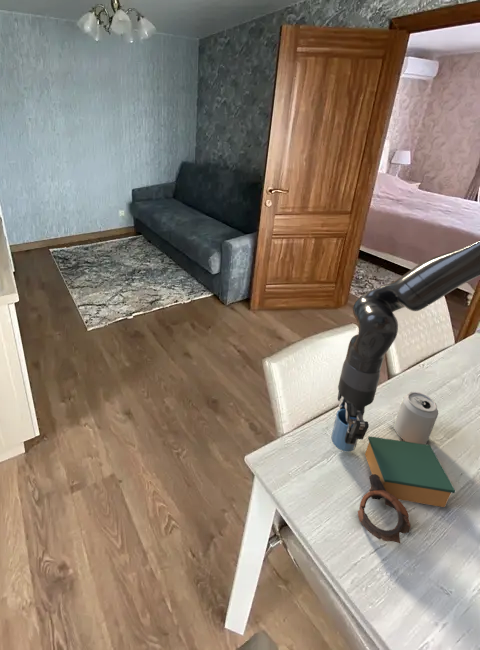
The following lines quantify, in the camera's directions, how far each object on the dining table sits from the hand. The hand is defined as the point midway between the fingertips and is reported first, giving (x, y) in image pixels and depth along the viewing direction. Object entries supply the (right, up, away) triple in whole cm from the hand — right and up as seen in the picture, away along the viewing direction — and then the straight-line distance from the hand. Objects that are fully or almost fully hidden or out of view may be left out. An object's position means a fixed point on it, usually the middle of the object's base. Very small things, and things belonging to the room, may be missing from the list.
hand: (345, 431), depth 85 cm
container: (+10, -8, -5) cm, 14 cm away
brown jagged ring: (+1, -12, -13) cm, 17 cm away
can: (+20, -4, +6) cm, 21 cm away
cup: (0, -3, +1) cm, 4 cm away
